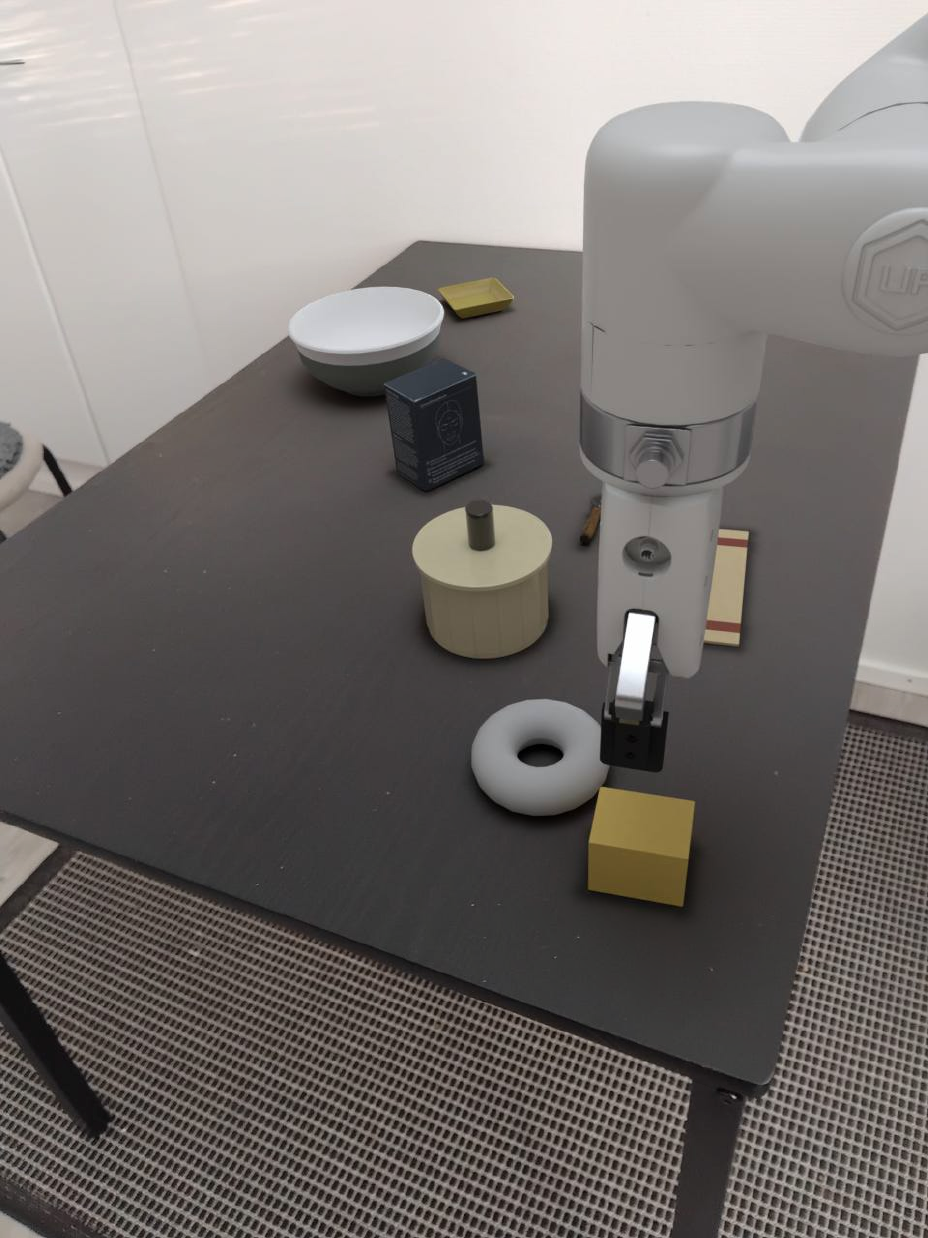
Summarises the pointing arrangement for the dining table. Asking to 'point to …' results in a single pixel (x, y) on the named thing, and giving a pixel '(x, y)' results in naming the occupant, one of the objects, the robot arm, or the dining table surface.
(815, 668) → the dining table surface
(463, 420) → the box
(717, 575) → the cloth
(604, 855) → the cheese
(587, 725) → the donut
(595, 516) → the can opener
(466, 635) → the pot
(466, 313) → the yellow tray
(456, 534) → the pot lid
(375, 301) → the bowl
